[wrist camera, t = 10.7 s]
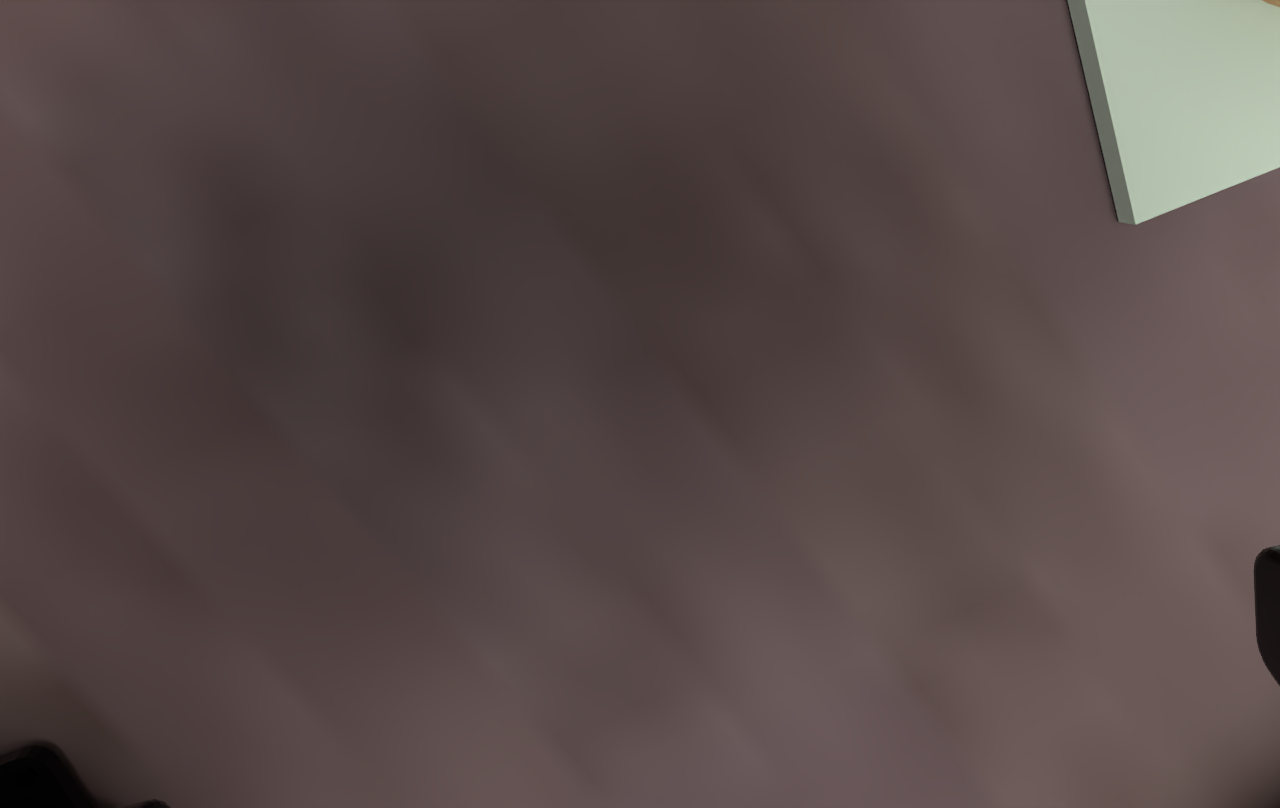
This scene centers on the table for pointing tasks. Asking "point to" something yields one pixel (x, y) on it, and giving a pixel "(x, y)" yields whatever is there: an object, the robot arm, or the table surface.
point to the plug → (1273, 2)
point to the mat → (1180, 96)
